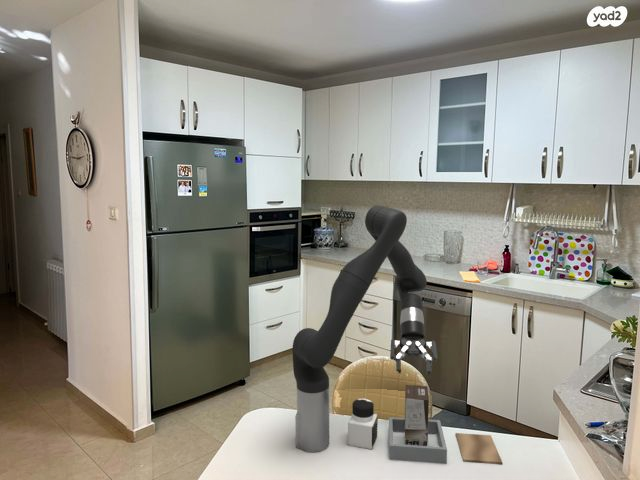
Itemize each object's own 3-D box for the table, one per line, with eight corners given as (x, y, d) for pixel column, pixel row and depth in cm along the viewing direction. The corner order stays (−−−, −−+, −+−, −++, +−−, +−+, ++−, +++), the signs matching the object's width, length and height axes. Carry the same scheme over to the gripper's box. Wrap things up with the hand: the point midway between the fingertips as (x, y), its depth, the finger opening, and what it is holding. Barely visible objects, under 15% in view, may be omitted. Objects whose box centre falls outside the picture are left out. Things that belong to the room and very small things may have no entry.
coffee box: (427, 456, 123) (429, 400, 121) (403, 453, 125) (404, 398, 123) (426, 438, 132) (428, 385, 130) (404, 435, 134) (405, 383, 131)
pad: (463, 461, 121) (463, 459, 121) (455, 434, 134) (455, 432, 134) (502, 464, 120) (502, 462, 119) (490, 437, 132) (490, 435, 132)
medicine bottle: (372, 450, 126) (372, 409, 125) (347, 445, 129) (347, 405, 127) (377, 436, 133) (377, 397, 132) (354, 432, 135) (354, 394, 134)
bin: (389, 459, 122) (389, 445, 122) (388, 429, 137) (388, 417, 136) (446, 463, 120) (447, 449, 120) (439, 432, 135) (440, 420, 134)
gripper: (390, 318, 144) (390, 367, 135) (435, 320, 143) (439, 369, 133) (389, 329, 150) (389, 376, 140) (433, 330, 148) (437, 379, 139)
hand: (414, 373), depth 137 cm, fingers open, 8 cm apart
